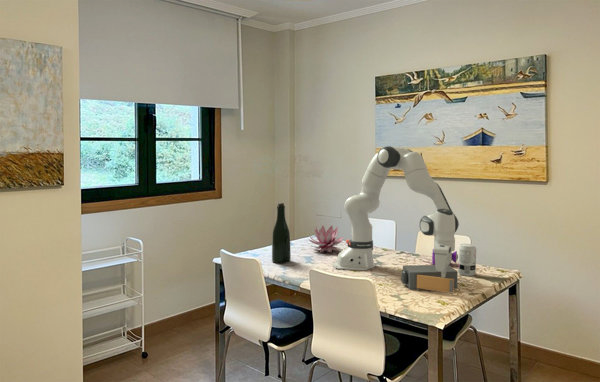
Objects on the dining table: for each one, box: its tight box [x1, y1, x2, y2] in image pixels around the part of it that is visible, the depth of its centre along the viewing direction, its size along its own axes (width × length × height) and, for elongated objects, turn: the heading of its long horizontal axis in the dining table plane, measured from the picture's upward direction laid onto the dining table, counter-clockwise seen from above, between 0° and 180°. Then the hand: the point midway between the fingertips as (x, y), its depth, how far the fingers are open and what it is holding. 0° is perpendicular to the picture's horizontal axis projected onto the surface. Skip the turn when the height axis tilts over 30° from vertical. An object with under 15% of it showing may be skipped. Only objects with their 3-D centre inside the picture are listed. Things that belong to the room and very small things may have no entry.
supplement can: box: [457, 243, 477, 277], centre depth 246 cm, size 8×8×15 cm
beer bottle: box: [271, 202, 292, 264], centre depth 272 cm, size 10×10×33 cm
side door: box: [417, 275, 455, 294], centre depth 217 cm, size 16×2×6 cm, turn 64°
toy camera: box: [431, 247, 459, 266], centre depth 266 cm, size 11×14×10 cm
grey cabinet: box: [400, 264, 459, 291], centre depth 228 cm, size 24×12×8 cm, turn 94°
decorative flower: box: [309, 225, 344, 253], centre depth 297 cm, size 21×21×15 cm
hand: (443, 276), depth 217 cm, fingers closed
